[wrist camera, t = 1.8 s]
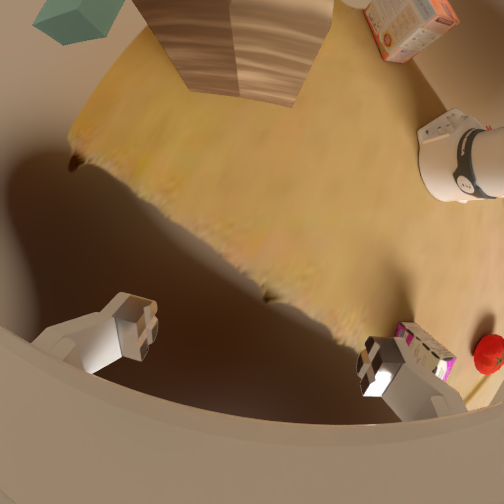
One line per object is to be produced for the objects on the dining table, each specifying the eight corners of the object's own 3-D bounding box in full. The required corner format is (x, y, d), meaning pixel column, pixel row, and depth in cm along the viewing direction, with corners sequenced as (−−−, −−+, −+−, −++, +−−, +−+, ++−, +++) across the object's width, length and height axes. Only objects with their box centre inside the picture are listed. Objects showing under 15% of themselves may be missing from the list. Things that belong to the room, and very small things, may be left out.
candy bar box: (400, 363, 53) (433, 406, 37) (382, 364, 52) (414, 410, 36) (416, 320, 50) (458, 357, 34) (398, 320, 50) (439, 359, 34)
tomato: (496, 340, 53) (516, 355, 43) (473, 369, 54) (491, 387, 44) (488, 320, 51) (511, 335, 41) (463, 352, 53) (484, 370, 43)
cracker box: (405, 64, 39) (462, 23, 19) (382, 61, 40) (435, 13, 19) (385, 15, 37) (427, -33, 16) (362, 11, 37) (399, -43, 16)
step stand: (291, 107, 42) (367, -44, 7) (190, 91, 41) (96, -50, 6) (304, 42, 39) (360, -100, 4) (211, 28, 38) (171, -114, 3)
